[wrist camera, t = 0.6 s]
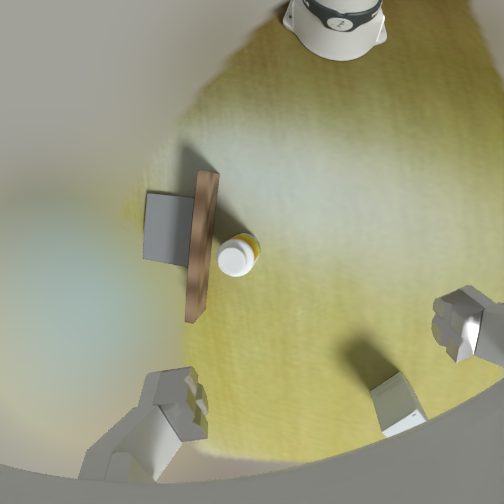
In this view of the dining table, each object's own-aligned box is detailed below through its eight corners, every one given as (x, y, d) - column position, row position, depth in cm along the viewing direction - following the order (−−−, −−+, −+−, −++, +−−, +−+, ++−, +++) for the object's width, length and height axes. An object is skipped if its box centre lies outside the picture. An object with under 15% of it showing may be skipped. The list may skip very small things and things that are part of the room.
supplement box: (368, 391, 55) (380, 431, 42) (400, 370, 53) (418, 407, 41) (385, 411, 55) (397, 451, 43) (415, 391, 53) (433, 429, 41)
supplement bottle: (236, 227, 53) (221, 234, 43) (266, 241, 53) (258, 252, 43) (223, 256, 54) (205, 269, 44) (252, 270, 54) (241, 287, 44)
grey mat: (149, 193, 54) (147, 193, 54) (195, 198, 53) (194, 198, 52) (144, 257, 57) (142, 258, 56) (189, 265, 56) (187, 266, 55)
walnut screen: (211, 173, 52) (198, 170, 45) (219, 174, 52) (207, 171, 45) (197, 307, 57) (184, 321, 50) (205, 309, 57) (193, 323, 50)
